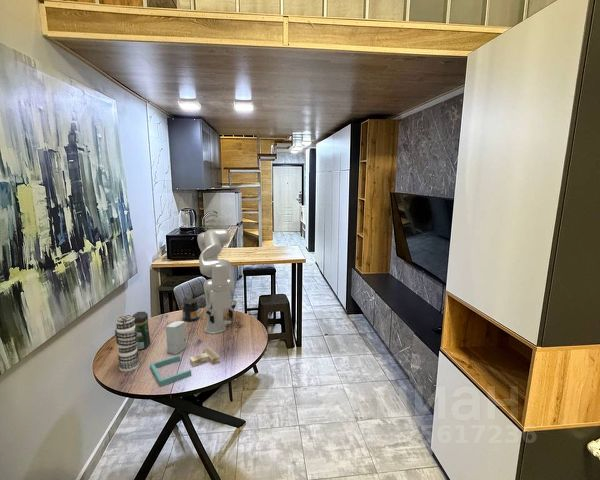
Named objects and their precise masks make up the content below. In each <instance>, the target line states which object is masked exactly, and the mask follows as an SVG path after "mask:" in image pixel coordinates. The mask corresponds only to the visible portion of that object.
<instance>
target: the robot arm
mask: <svg viewBox="0 0 600 480" xmlns="http://www.w3.org/2000/svg"><path fill="white" fill-rule="evenodd" d="M196 239H197V244H198V248H199V249H200V252H201V253H200V255H199V258H198V264H199V270H200V274H202V275H203V276H206V277H208V278H209V279H206V280H205V281H204V282H203V292H204V295H205V296H204V297H205V306H204V307H203V310H204V311H205V313H206V326H205V328H204V332H205V333H206V334H210V335H216V334H221V333H224V331H226V329H227V325H230V324H232V321H231V320H227V319H225V320H224V310H228V318H229V319H233V316H234V309H235V308H236V307H237V304H238V301H237V300H235V299H232V296H231V293H233V292H234V289H235V281H234V275H233V267H232V263H231V262H230V261H229V260H227V259H223V258H222V259H219V256H218V255H220V254H221V252H222V250H223V247H222V246H226V245H227V244H229V243H230V240H231V235H230V232H229V230H228V229H226V228H219V229H215V228H214V229H208V230H206V231H204V232H201V233H199V234H197V238H196Z"/></svg>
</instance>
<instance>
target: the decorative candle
mask: <svg viewBox="0 0 600 480" xmlns="http://www.w3.org/2000/svg"><path fill="white" fill-rule="evenodd" d="M132 316H133V315H129V314H128V315H122V316H120V317H118V318H117V319H116V320H115V323H116V324H115V326H116V327H115V329H114V335H115V340H116V346H117V348H118V354H117V357H118V359H117V360H118V368H119V371H121V372H131V371H134V370H135V369H137V368H139V366H140V358H139V350H137V347H136V343H137V337H135V336H137V333H136V332H137V330H135V328H136V327H137V326H135V324H134V320H135V318H134V317H132Z"/></svg>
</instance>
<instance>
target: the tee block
mask: <svg viewBox="0 0 600 480" xmlns="http://www.w3.org/2000/svg"><path fill="white" fill-rule="evenodd" d="M220 359H221V358H220V356H219V355H218V354H217V352H215V350H213V349H212V348H211V346H210V347H206V348H203V349H202V353H201V354H197V355H194V356H192V357H189V365H190V366H191V367H192V368H194V367H197V366H199V365H203V364H206V363H210V365H212V366H214V365H216V364H219V363H221V360H220Z"/></svg>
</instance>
